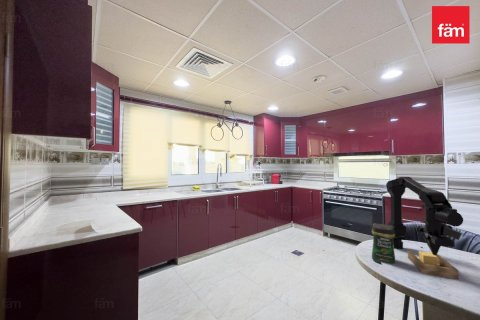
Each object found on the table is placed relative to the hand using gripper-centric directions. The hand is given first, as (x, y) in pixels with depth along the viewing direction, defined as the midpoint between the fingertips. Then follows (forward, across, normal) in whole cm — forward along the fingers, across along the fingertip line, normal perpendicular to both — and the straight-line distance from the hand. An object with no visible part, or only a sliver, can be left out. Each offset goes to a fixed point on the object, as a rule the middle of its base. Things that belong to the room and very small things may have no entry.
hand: (434, 254), depth 89 cm
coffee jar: (+9, +5, +18) cm, 21 cm away
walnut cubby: (+8, +4, 0) cm, 9 cm away
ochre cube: (+7, +7, 0) cm, 10 cm away
